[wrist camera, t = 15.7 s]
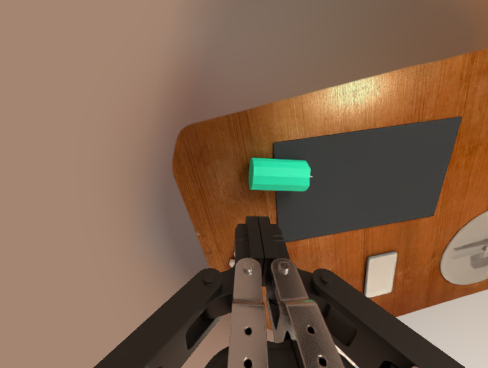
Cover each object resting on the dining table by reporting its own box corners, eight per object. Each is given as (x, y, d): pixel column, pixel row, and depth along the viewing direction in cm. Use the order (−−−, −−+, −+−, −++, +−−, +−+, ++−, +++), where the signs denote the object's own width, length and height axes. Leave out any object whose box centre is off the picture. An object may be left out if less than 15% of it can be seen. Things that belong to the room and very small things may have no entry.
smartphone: (398, 252, 57) (392, 292, 63) (395, 249, 58) (389, 289, 63) (368, 258, 56) (364, 299, 62) (366, 256, 57) (362, 296, 63)
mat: (273, 142, 42) (273, 143, 41) (460, 116, 45) (462, 116, 45) (278, 242, 51) (278, 243, 51) (432, 214, 55) (433, 215, 54)
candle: (249, 157, 43) (307, 160, 44) (247, 187, 44) (304, 189, 45) (254, 157, 37) (320, 161, 38) (252, 192, 38) (317, 194, 39)
